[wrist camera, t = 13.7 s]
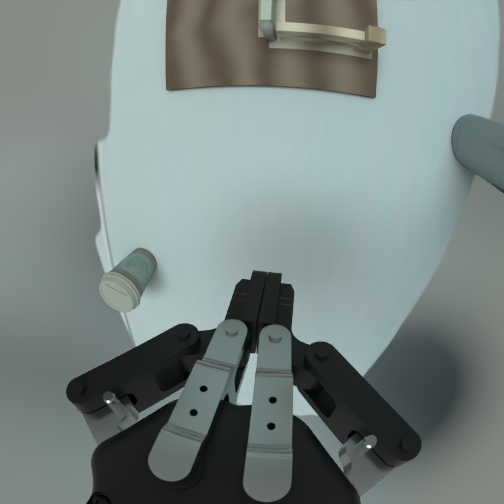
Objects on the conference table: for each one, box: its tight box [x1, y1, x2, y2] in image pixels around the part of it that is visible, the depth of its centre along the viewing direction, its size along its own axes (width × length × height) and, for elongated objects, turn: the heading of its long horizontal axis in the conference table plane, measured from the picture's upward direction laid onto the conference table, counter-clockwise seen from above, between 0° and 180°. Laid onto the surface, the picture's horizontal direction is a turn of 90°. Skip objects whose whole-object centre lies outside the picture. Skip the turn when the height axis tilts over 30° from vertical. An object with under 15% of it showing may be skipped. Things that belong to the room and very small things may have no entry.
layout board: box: [166, 0, 378, 98], centre depth 25 cm, size 30×27×1 cm
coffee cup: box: [99, 248, 156, 312], centre depth 49 cm, size 9×9×12 cm
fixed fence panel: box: [277, 22, 386, 53], centre depth 24 cm, size 12×2×8 cm, turn 89°
